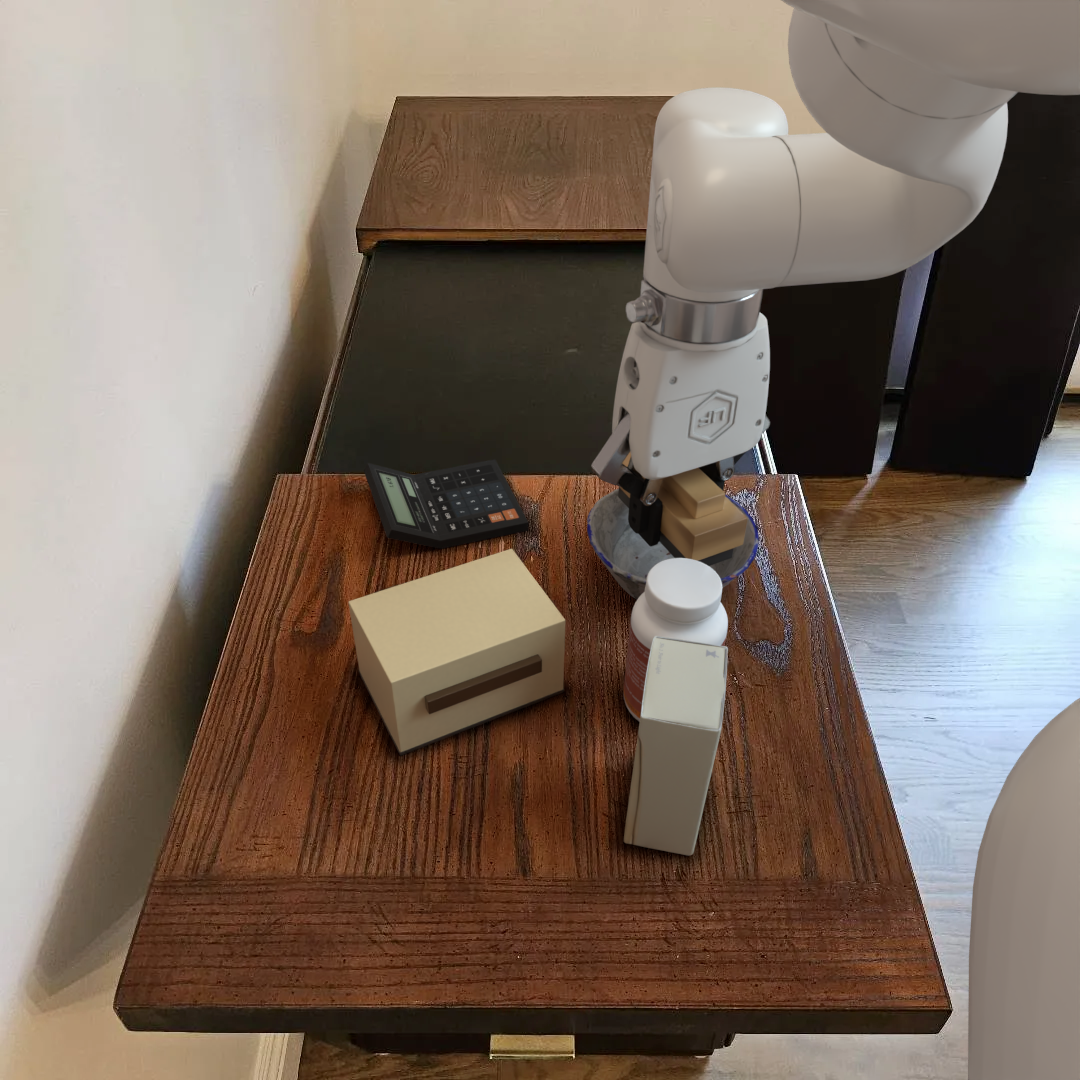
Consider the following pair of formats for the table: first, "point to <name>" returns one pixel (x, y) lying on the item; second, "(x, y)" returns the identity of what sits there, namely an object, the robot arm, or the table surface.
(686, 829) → the cosmetic box
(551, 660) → the bread box
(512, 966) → the table surface
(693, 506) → the brush
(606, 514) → the bowl
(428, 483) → the calculator
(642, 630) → the pill bottle
